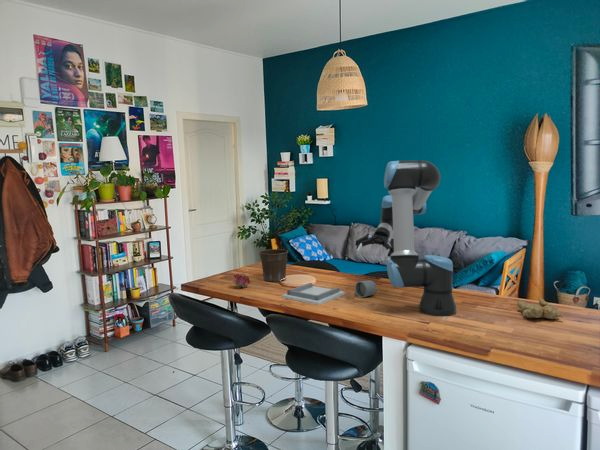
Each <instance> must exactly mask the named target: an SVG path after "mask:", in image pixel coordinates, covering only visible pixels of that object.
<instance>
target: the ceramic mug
mask: <svg viewBox="0 0 600 450" xmlns="http://www.w3.org/2000/svg"><path fill="white" fill-rule="evenodd" d="M377 287H378V286H377V284H376V282H374V281H373V280H370V279H369V280H359V281H357V282H356V284H355V286H354V293H355V294H356V295H357V297H359V298H366V297H369V296H370V297H371V296H373V295H375V294H376V293H377V290H378V288H377Z"/></svg>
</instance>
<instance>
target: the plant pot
mask: <svg viewBox="0 0 600 450" xmlns="http://www.w3.org/2000/svg"><path fill="white" fill-rule="evenodd" d="M258 253H259V257H260V260H261V267H262V275H263V281H265V282H266V283H267V282H269V283H270V282H273V283H278V282H279V281H280V280H281V279H283V278H285V277H286V275H287V271H286V270H287V261H288V259H287V258H288V253H289V250H287V249H282V248H281V249H279V248H276V249H275V248H274V249H273V248H271V249H270V248H269V249H263V250H260V251H259V252H258ZM280 282H281V281H280Z"/></svg>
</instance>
